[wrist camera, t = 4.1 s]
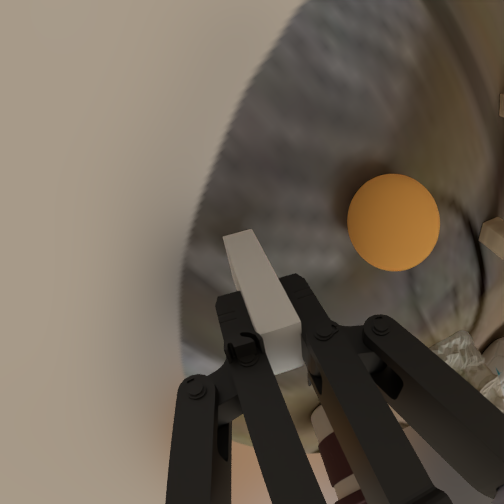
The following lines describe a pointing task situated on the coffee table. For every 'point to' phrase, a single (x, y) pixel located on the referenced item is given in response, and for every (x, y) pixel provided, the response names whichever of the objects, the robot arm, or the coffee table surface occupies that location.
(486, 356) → the puzzle ball
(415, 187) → the ball
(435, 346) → the ceramic cottage
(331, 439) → the coffee cup
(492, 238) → the bridge
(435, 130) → the coffee table surface
